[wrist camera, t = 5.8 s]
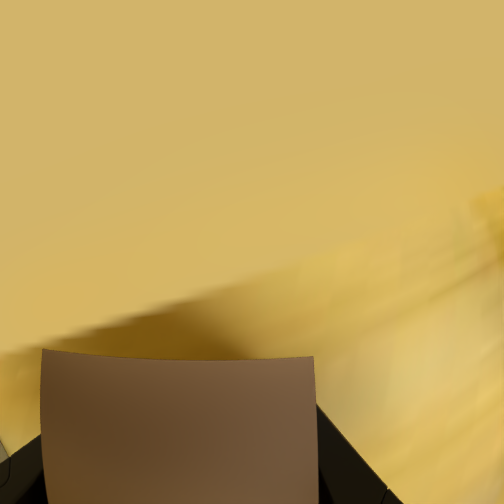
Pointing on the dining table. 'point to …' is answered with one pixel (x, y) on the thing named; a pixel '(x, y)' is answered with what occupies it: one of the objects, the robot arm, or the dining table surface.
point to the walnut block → (178, 430)
